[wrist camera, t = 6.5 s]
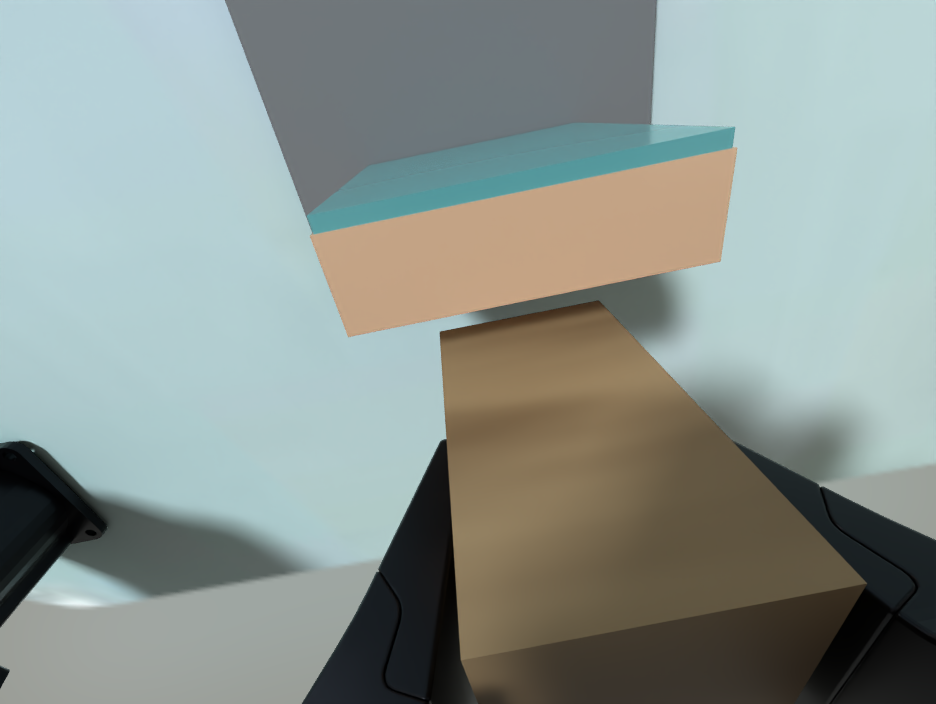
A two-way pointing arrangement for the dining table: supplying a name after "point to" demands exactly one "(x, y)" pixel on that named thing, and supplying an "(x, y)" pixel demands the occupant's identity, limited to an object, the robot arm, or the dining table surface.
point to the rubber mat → (437, 75)
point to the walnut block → (619, 530)
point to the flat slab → (522, 219)
